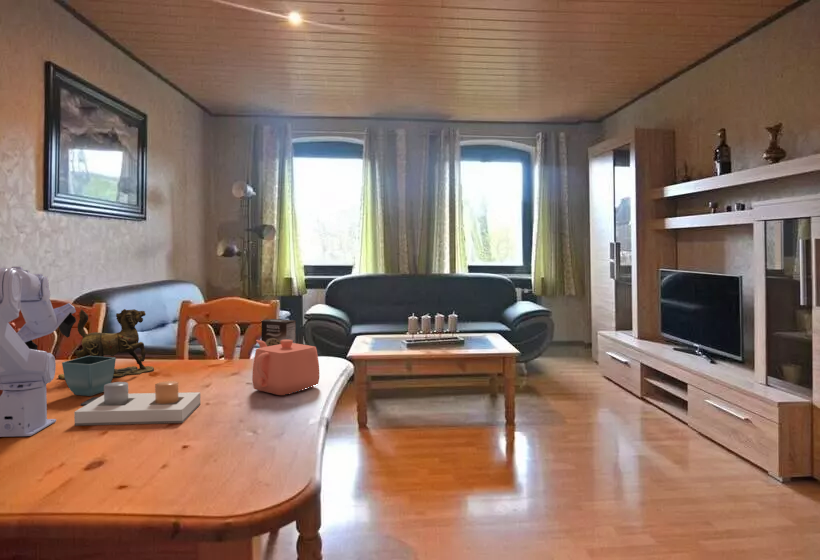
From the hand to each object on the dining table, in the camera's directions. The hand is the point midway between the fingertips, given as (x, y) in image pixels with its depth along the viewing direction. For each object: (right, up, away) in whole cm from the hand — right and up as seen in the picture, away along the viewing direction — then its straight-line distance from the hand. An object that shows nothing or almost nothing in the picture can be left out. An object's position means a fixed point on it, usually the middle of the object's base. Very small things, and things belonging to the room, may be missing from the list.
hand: (51, 344), depth 125 cm
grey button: (+21, -12, -9) cm, 26 cm away
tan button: (+32, -12, -7) cm, 35 cm away
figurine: (-4, -13, +30) cm, 33 cm away
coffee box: (+46, -13, +39) cm, 62 cm away
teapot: (+51, -15, +18) cm, 56 cm away
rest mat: (+11, -14, +1) cm, 18 cm away
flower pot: (+4, -14, +9) cm, 17 cm away
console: (+26, -15, -8) cm, 31 cm away
